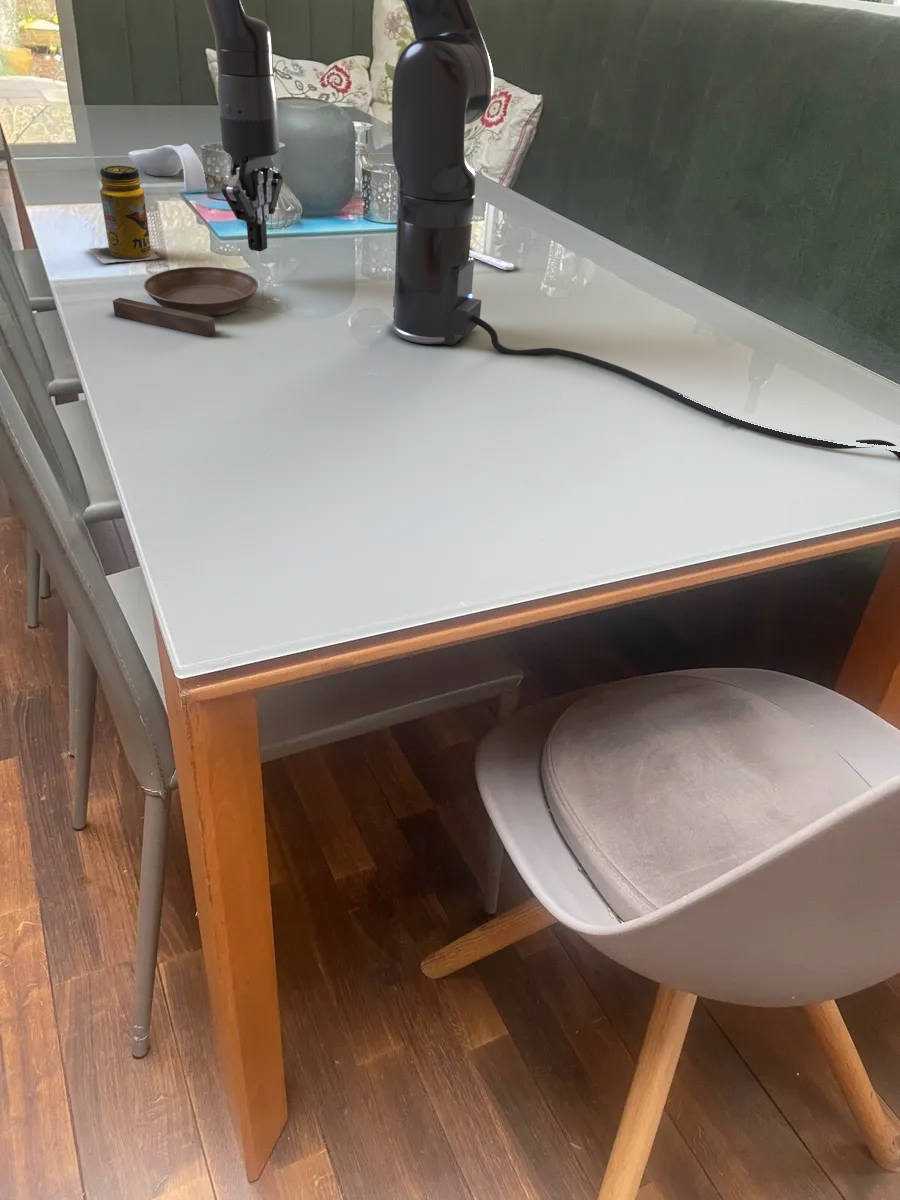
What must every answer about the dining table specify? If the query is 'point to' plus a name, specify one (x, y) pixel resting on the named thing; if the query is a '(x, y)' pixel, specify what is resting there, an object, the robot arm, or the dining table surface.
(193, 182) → the spoon rest
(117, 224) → the condiment
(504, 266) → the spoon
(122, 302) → the rail
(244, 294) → the saucer
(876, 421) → the dining table surface
